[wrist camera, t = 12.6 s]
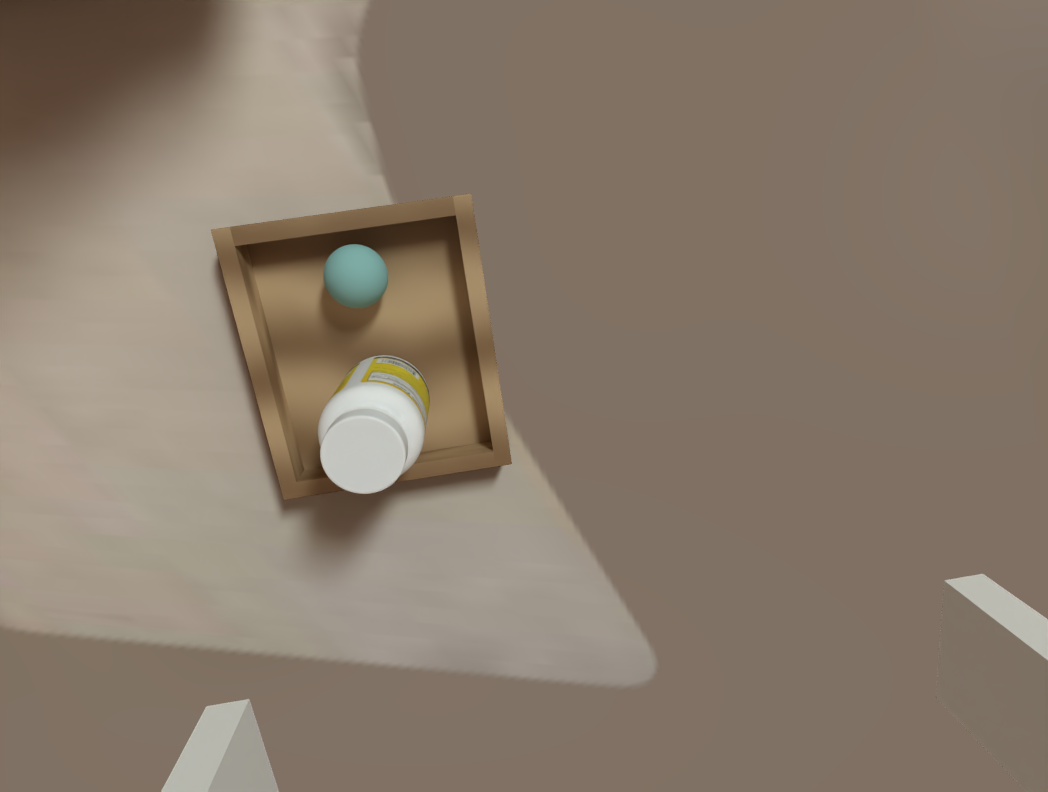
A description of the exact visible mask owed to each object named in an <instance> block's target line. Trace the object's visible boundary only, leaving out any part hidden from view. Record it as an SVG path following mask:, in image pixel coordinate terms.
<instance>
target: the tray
mask: <svg viewBox="0 0 1048 792" xmlns="http://www.w3.org/2000/svg"><path fill="white" fill-rule="evenodd" d="M211 232H212V236H213V240H214V243H215V247H216V251H217V255H218V258H219V262H220V266H221V269H222V273H223V277H224V280H225V284H226V288H227V292H228V295H229V299H230V303H231V306H232V310H233V314H234V317H235V321H236V325H237V329H238V332H239V336H240V340H241V343H242V347H243V351H244V354H245V358H246V362H247V366H248V369H249V373H250V377H251V380H252V384H253V388H254V392H255V395H256V399H257V403H258V406H259V410H260V414H261V417H262V421H263V425H264V429H265V432H266V436H267V440H268V443H269V447H270V451H271V454H272V458H273V462H274V466H275V469H276V473H277V477H278V480H279V484H280V488H281V491H282V495H283V499H284V500H287V499H293V498H299V497H306V496H312V495H318V494H325V493H331V492H337V491H344V489H342V488H340V487H339V486H337V485H336V484H335V483H334V482H332V481H331V479H330V478H329V477H328V476H327V474H326V473H325V471H324V469H323V467H322V464H321V460H320V448H321V447H320V444H319V439H318V424H319V420H320V417H321V414H322V412H323V410H324V408H325V406H326V404H327V403H328V401H329V400H330V398H331V397H332V395H333V394H334V393H335V391H336V390H337V388H338V387H339V385H340V384H341V382H342V381H343V379H344V378H345V376H346V375H347V374H348V373H349V371H350V370H351V369H352V368H353V367H354V366H355V365H357V364H358V363H360V362H361V361H363V360H365V359H367V358H370V357H374V356H381V355H388V356H394V357H398V358H401V359H403V360H405V361H407V362H409V363H410V364H412V365H413V366H414V367H415V368H417V369H418V371H419V372H420V373H421V374H422V376H423V377H424V379H425V381H426V383H427V386H428V389H429V396H430V404H429V413H428V419H427V425H426V432H425V438H424V443H423V447H422V450H421V452H420V454H419V456H418V458H417V460H416V461H415V463H414V464H413V465H412V466H411V467H410V468H409V469H408V470H407V471H406V472H405V473H403V474H402V475H400V476H399V478H398V479H397V480H396V481H395V482H401V481H407V480H414V479H420V478H426V477H433V476H439V475H445V474H452V473H458V472H464V471H471V470H477V469H483V468H490V467H496V466H502V465H509V464H512V462H511V455H510V449H509V442H508V435H507V429H506V422H505V415H504V409H503V402H502V396H501V389H500V383H499V376H498V370H497V362H496V356H495V349H494V342H493V336H492V329H491V324H490V323H491V322H490V316H489V310H488V303H487V296H486V289H485V283H484V276H483V269H482V263H481V257H480V249H479V243H478V236H477V230H476V223H475V216H474V210H473V203H472V196H471V194H465V195H458V196H451V197H444V198H437V199H429V200H422V201H415V202H408V203H400V204H393V205H386V206H378V207H371V208H364V209H357V210H350V211H342V212H335V213H328V214H321V215H313V216H306V217H299V218H292V219H285V220H277V221H270V222H263V223H256V224H248V225H241V226H234V227H227V228H219V229H212V230H211ZM350 244H358V245H363V246H366V247H369V248H371V249H372V250H374V251H375V252H376V253H378V254H379V255H380V257H381V258H382V259H383V261H384V263H385V264H386V267H387V270H388V285H387V288H386V291H385V293H384V294H383V296H382V297H381V298H380V299H379V300H378V301H377V302H376V303H374V304H372V305H370V306H368V307H364V308H350V307H347V306H344V305H342V304H340V303H339V302H337V301H336V300H335V299H334V298H333V297H332V296H331V295H330V294H329V292H328V291H327V289H326V286H325V283H324V278H323V272H324V266H325V263H326V261H327V259H328V257H329V256H330V255H331V254H332V253H333V252H334V251H335V250H337V249H338V248H340V247H342V246H345V245H350Z"/></svg>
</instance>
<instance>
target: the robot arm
mask: <svg viewBox="0 0 1048 792" xmlns="http://www.w3.org/2000/svg"><path fill="white" fill-rule="evenodd" d="M936 698H937V699H938V700H939V701H940V702H941V704H942V705H943V706H944V707H945V708H946V709H947V710H948V711H949V712H950V713H951V714H952V715H953V716H954V717H955V718H956V719H957V720H958V721H959V722H960V723H961V724H962V725H963V726H964V728H966V730H968V732H969V733H970V734H971V735H972V736H973V737H974V738H975V739H976V740H977V741H978V742H979V743H980V744H981V745H982V746H983V747H984V748H985V749H986V750H987V751H988V752H989V753H990V754H991V756H992V757H993V758H994V759H995V760H996V761H997V762H998V763H999V764H1000V765H1001V766H1002V767H1003V768H1004V769H1005V770H1006V771H1007V772H1008V773H1009V774H1010V775H1011V776H1012V777H1013V778H1014V779H1015V780H1016V781H1017V782H1018V784H1019V785H1021V786H1022V788H1023V789H1024V790H1025V791H1026V792H1048V619H1046V618H1045V617H1043V616H1042V615H1041V614H1039V613H1038V612H1036V611H1035V610H1033V609H1032V608H1031V607H1029V606H1028V605H1026V604H1025V603H1024V602H1022V601H1021V600H1019V599H1018V598H1016V597H1015V596H1013V595H1012V594H1011V593H1009V592H1008V591H1006V590H1005V589H1003V588H1002V587H1001V586H999V585H998V584H996V583H995V582H994V581H992V580H991V579H989V578H988V577H986V576H985V575H984V574H979V575H974V576H968V577H962V578H956V579H950V580H945V581H944V592H943V605H942V619H941V634H940V648H939V662H938V677H937V690H936ZM161 792H279V791H278V787H277V784H276V781H275V778H274V775H273V772H272V769H271V765H270V762H269V759H268V756H267V753H266V750H265V747H264V744H263V741H262V737H261V734H260V731H259V728H258V725H257V722H256V719H255V716H254V712H253V709H252V706H251V703H250V700H249V699H247V700H241V701H235V702H229V703H223V704H218V705H212V706H207V707H206V709H205V710H204V712H203V714H202V716H201V718H200V720H199V722H198V724H197V725H196V727H195V729H194V731H193V733H192V735H191V737H190V738H189V740H188V742H187V744H186V746H185V748H184V750H183V752H182V753H181V755H180V757H179V759H178V761H177V763H176V765H175V767H174V768H173V770H172V772H171V774H170V776H169V778H168V780H167V782H166V784H165V785H164V787H163V789H162V791H161Z"/></svg>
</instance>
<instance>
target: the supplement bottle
mask: <svg viewBox="0 0 1048 792" xmlns="http://www.w3.org/2000/svg"><path fill="white" fill-rule="evenodd" d="M429 404H430V396H429V389H428V386H427V383H426V381H425V379H424V377H423V376H422V374H421V373H420V372H419V371H418V369H417V368H415V367H414V366H413V365H412V364H410V363H409V362H407V361H405V360H403V359H401V358H398V357H394V356H388V355H381V356H374V357H370V358H367V359H365V360H363V361H361V362H360V363H358V364H357V365H355V366H354V367H353V368H352V369H351V370H350V371H349V373H348V374H347V375H346V376H345V378H344V379H343V381H342V382H341V384H340V385H339V387H338V388H337V390H336V391H335V393H334V394H333V395H332V397H331V398H330V400H329V401H328V403H327V404H326V406H325V408H324V410H323V412H322V414H321V417H320V420H319V424H318V439H319V444H320V447H321V448H320V460H321V464H322V467H323V469H324V471H325V473H326V474H327V476H328V477H329V478H330V479H331V481H332V482H334V483H335V484H336V485H337V486H339V487H340V488H342V489H344V490H347V491H350V492H353V493H358V494H370V493H376V492H379V491H382V490H384V489H386V488H387V487H389V486H390V485H392V484H393V483H394V482H395V481H396V480H397V479H398V478H399V476H400V475H402V474H403V473H405V472H406V471H407V470H408V469H409V468H410V467H411V466H412V465H413V464H414V463H415V461H416V460H417V458H418V456H419V454H420V452H421V450H422V447H423V443H424V438H425V432H426V425H427V419H428V413H429Z"/></svg>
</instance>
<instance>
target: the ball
mask: <svg viewBox="0 0 1048 792" xmlns="http://www.w3.org/2000/svg"><path fill="white" fill-rule="evenodd" d="M323 278H324V283H325V286H326V289H327V291H328V292H329V294H330V295H331V296H332V297H333V298H334V299H335V300H336V301H337V302H339V303H340V304H342V305H344V306H347V307H350V308H364V307H368V306H370V305H372V304H374V303H376V302H377V301H378V300H379V299H380V298H381V297H382V296H383V294H384V293H385V291H386V288H387V285H388V270H387V267H386V264H385V263H384V261H383V259H382V258H381V257H380V255H379V254H378V253H376V252H375V251H374V250H372V249H371V248H369V247H366V246H363V245H358V244H350V245H345V246H342V247H340V248H338V249H337V250H335V251H334V252H333V253H332V254H331V255H330V256H329V257H328V259H327V261H326V263H325V266H324V272H323Z"/></svg>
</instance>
